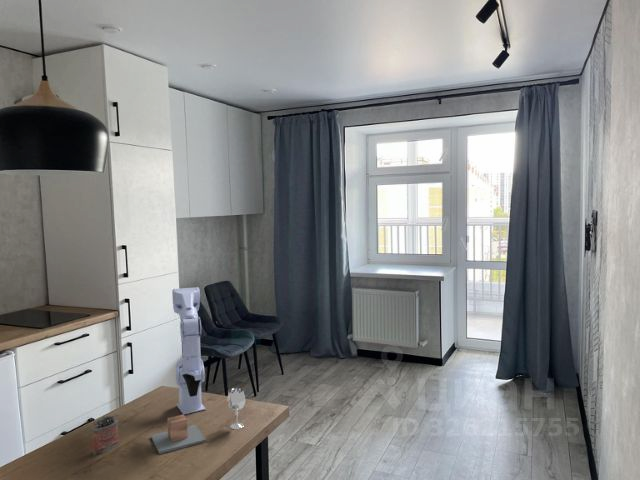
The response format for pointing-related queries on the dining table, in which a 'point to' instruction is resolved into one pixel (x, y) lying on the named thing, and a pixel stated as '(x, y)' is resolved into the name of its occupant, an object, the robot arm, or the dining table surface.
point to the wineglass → (236, 404)
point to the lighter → (105, 434)
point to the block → (177, 428)
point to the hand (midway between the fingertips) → (193, 395)
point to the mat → (166, 445)
